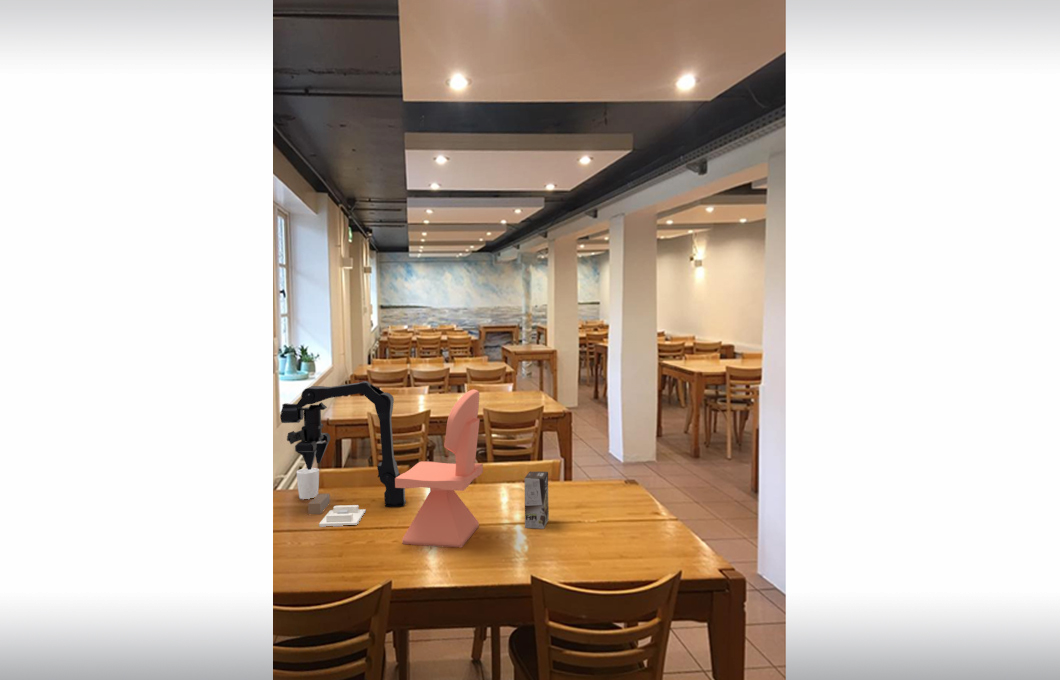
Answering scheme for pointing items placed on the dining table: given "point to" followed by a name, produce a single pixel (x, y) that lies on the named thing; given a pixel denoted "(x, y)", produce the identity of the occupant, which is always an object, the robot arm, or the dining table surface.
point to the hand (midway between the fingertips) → (314, 466)
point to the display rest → (343, 516)
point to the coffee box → (536, 500)
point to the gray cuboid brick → (319, 503)
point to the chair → (447, 482)
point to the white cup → (308, 483)
